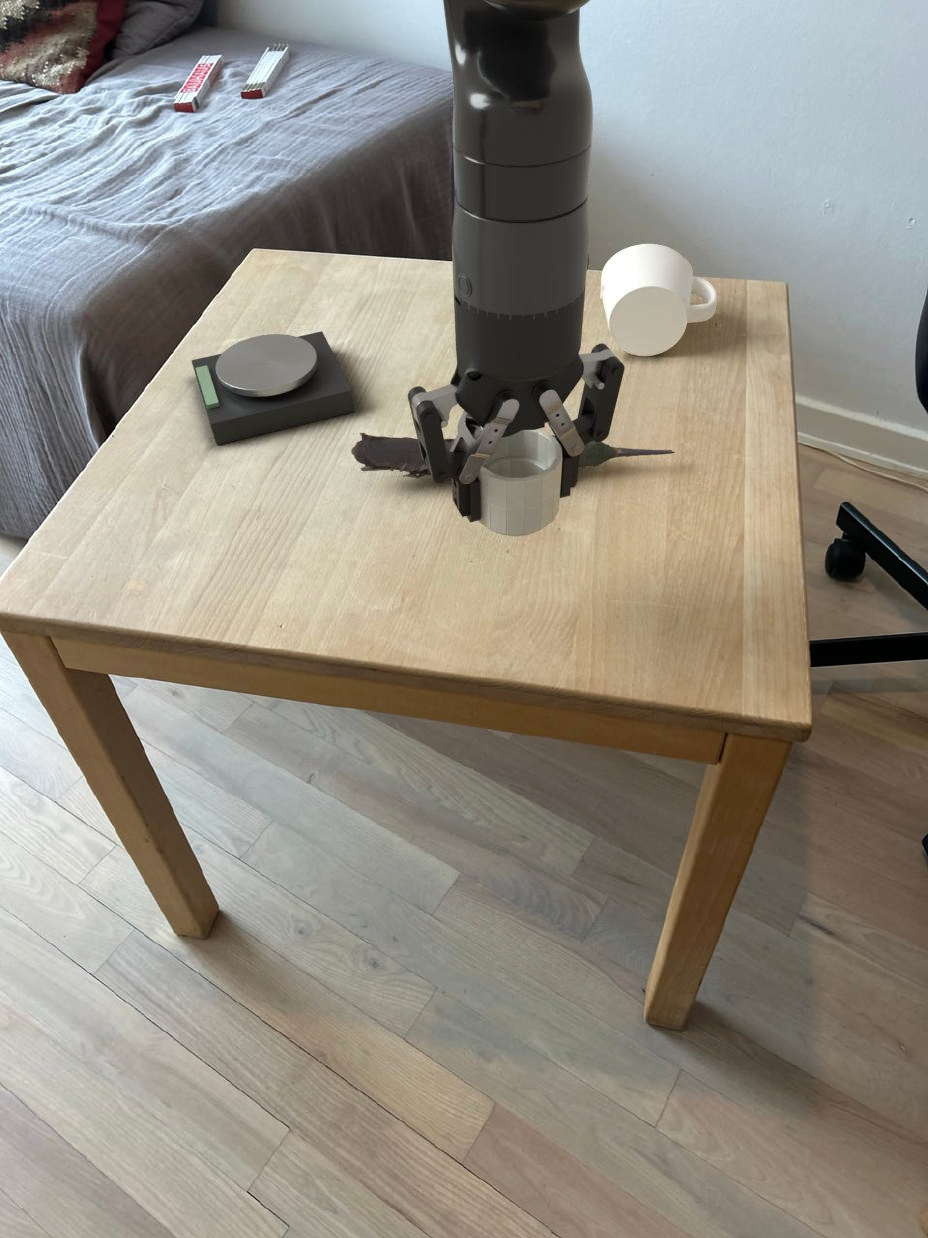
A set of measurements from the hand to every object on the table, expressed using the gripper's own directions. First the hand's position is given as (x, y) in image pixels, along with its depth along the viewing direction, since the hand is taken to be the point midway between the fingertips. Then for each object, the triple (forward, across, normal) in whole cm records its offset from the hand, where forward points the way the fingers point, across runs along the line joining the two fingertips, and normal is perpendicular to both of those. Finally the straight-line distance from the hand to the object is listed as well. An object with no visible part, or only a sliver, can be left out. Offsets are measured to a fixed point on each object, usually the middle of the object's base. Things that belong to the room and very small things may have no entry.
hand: (515, 501), depth 62 cm
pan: (+7, +12, -36) cm, 39 cm away
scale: (+11, +12, -36) cm, 39 cm away
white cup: (+1, 0, 0) cm, 1 cm away
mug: (+11, -29, -31) cm, 44 cm away
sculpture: (+11, -6, -15) cm, 20 cm away
